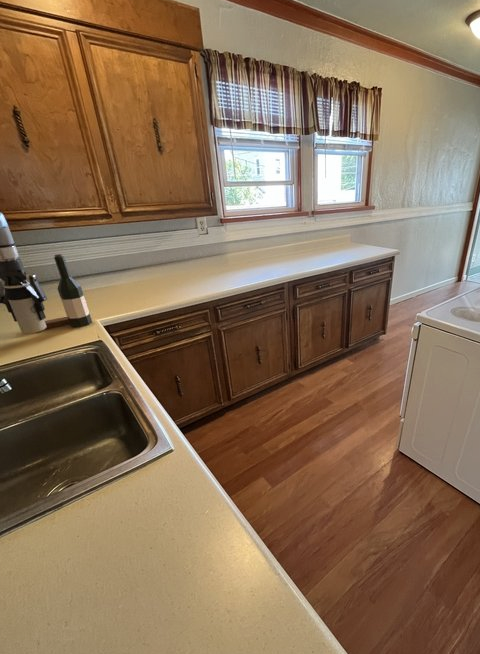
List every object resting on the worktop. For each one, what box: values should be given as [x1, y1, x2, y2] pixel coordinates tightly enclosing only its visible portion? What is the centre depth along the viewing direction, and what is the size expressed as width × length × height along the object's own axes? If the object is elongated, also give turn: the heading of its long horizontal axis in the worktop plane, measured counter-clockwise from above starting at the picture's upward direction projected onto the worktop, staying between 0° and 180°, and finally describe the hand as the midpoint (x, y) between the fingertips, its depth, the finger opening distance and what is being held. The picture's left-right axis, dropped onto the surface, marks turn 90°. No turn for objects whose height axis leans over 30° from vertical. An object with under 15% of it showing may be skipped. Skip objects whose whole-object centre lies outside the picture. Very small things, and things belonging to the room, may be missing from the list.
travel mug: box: [3, 281, 47, 334], centre depth 123 cm, size 8×8×18 cm
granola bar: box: [43, 316, 70, 331], centre depth 142 cm, size 12×4×2 cm, turn 130°
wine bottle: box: [53, 253, 93, 328], centre depth 137 cm, size 8×8×30 cm
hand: (30, 319), depth 125 cm, fingers closed on travel mug, 8 cm apart
